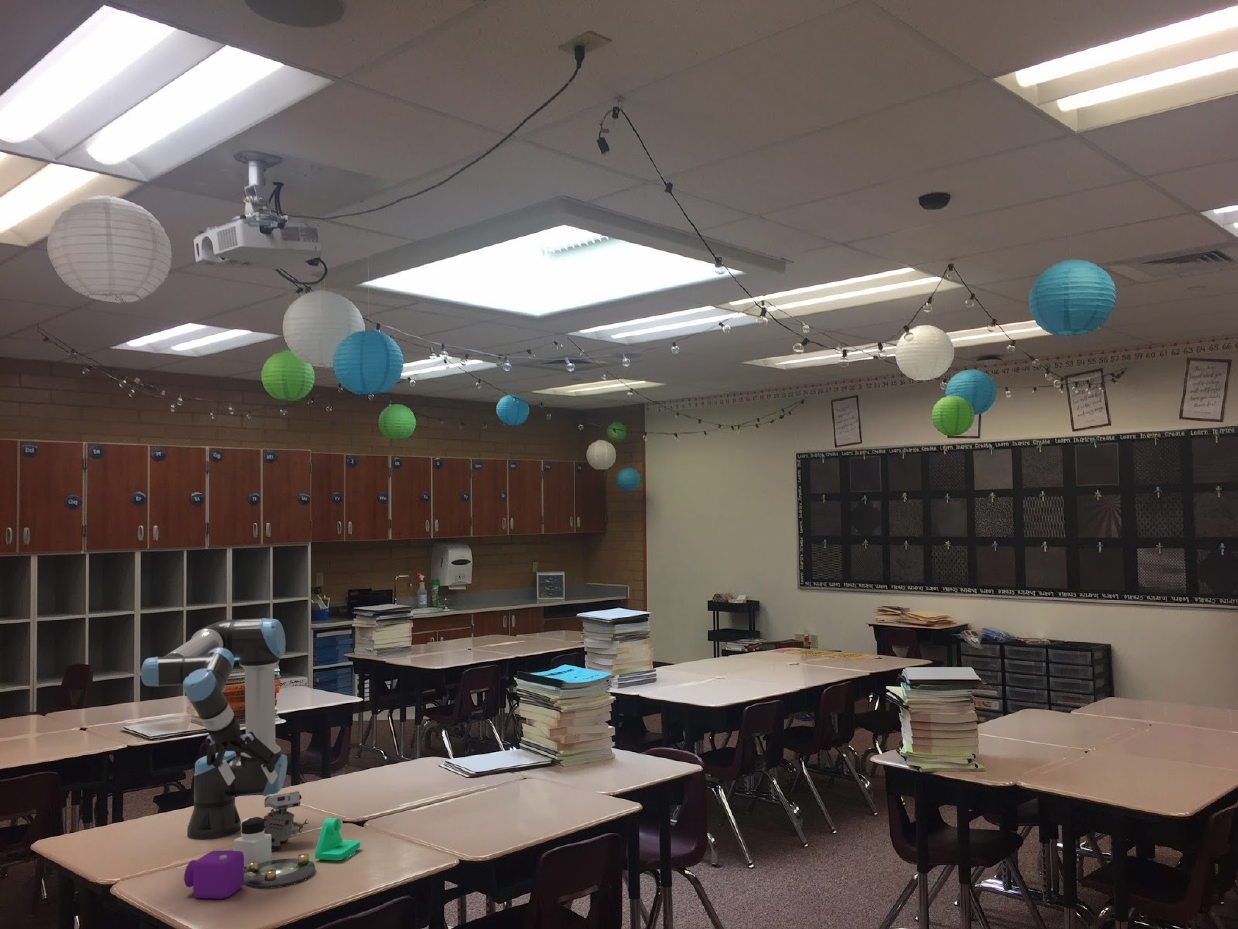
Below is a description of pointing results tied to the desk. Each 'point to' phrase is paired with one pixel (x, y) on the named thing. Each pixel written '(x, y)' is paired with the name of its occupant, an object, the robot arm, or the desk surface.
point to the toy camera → (216, 874)
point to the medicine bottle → (253, 841)
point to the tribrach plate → (278, 872)
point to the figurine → (281, 818)
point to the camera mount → (334, 842)
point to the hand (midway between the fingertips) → (252, 780)
